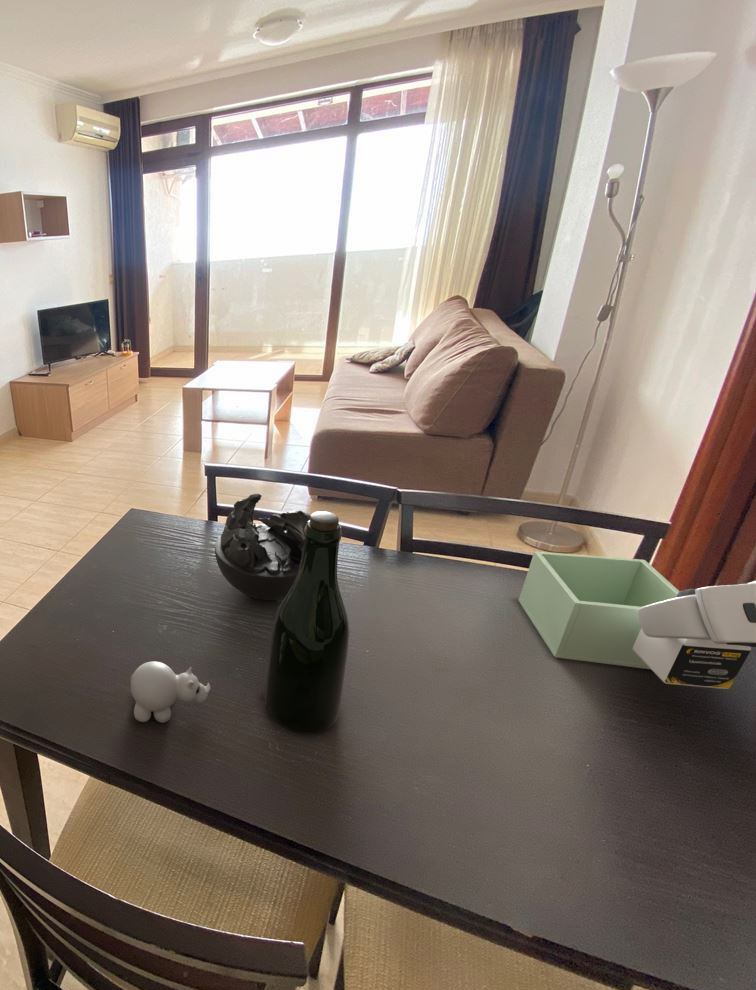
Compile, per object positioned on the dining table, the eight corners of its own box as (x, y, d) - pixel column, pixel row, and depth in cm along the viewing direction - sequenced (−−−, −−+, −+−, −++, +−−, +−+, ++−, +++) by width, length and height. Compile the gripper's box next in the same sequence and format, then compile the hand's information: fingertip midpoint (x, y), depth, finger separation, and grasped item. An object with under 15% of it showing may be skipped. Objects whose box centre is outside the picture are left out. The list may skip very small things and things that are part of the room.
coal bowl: (320, 628, 97) (332, 538, 89) (208, 614, 103) (210, 528, 95) (314, 569, 114) (324, 489, 106) (218, 560, 120) (220, 483, 112)
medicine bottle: (664, 684, 73) (699, 612, 68) (630, 649, 79) (660, 581, 74) (730, 690, 71) (771, 617, 66) (690, 654, 77) (725, 584, 72)
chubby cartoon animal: (211, 731, 79) (213, 688, 75) (130, 727, 81) (127, 684, 77) (208, 694, 85) (209, 653, 82) (133, 691, 87) (130, 650, 83)
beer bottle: (350, 706, 81) (385, 512, 67) (317, 749, 75) (348, 545, 61) (285, 673, 88) (305, 491, 74) (251, 709, 82) (265, 518, 68)
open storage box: (622, 611, 95) (644, 559, 91) (678, 673, 82) (707, 616, 78) (518, 600, 100) (534, 551, 96) (554, 657, 87) (575, 603, 82)
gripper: (903, 587, 59) (773, 605, 72) (689, 586, 62) (601, 604, 75) (931, 645, 57) (792, 654, 70) (708, 642, 60) (614, 650, 73)
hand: (692, 628), depth 73 cm, fingers closed on medicine bottle, 7 cm apart
